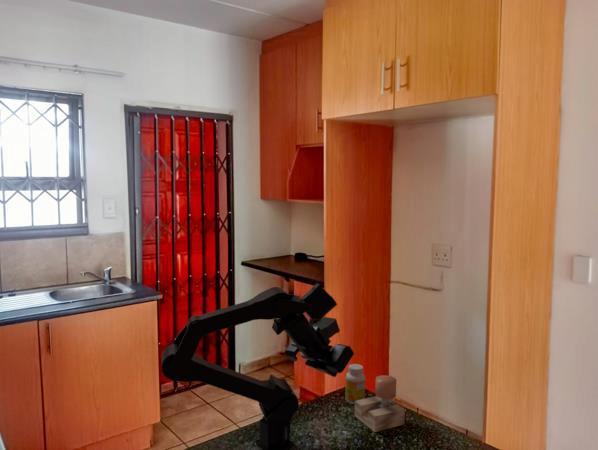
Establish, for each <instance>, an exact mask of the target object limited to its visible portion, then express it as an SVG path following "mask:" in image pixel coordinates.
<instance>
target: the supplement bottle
mask: <svg viewBox="0 0 598 450" xmlns="http://www.w3.org/2000/svg"><path fill="white" fill-rule="evenodd" d="M365 375H366V374H364V366H363V365H361V364H358V363H352V364H348V371H347V373H346V375H345V393H344V394H345V395H344V396H345V397H344V398H345V401H346V402H347V403H348V404H351V405H355V401H357V400H361V399H366V395H365V394H366V376H365Z"/></svg>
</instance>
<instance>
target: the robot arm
mask: <svg viewBox="0 0 598 450" xmlns="http://www.w3.org/2000/svg"><path fill="white" fill-rule="evenodd" d="M337 305H338V303H337V301H336V300H335V299H334V297H333V296H332V294H331V295H330V294H329V292H327V290H325V288H324V287H323V286H322V285H321V284H320V283H315V284H314V285H313V286H312V287H311V289H309V290H308V291H307V292H306V293H305V294H304V295H302V296H301V297H300V296H298V295H296V294H291V293H287V292H286V291H285V290H284V289H283V288H282V287H279V286H273V287H270V288H268V289H266V290H264V291H261V292H259V293H257V295H255V296H254V297H252V298H250V299H249V300H247V301H243V302H240V303H239V302H238V303H236V304H233V305H229V306H226V307H224V308H223V307H222V308H220V309H216V310H212V311H210V312H206V313H203V314H198V315H193V316H190V317H189V318H188V320H187V322H186V323H185V324H184V327H183V328H182V329H181V330H180V332H179V333H178V334H177V335H176V337H175V338H174V341H173V343H171V344H170V345H168V346H166V347H165V348H164V350H163V351H162V353H161V372H162V373H163V377H164V378H166V379H167V380H169V381H172V382H173V381H174V382H179V383H181V382H182V383H194V382H195V383H196V382H197V383H198V382H200V383H203V384H206V385H209V386H212V387H215V388H217V389H221V390H224V391H227V392H230V393H232V394H235V395H238V396H241V397H244V398H247V399H250V400H253V401H256V402H258V406H259V409H260V411H261V412H262V418H260V419H259V438H257V439H256V440H255V444H256V445H258V446H259V447H261V448H262V449H263V450H285V449H287V448H289V447H291V446H293V445H294V441H292V440H291V421H292V419H293V416H294V414H295V413H296V412H297V410H298V409H299V405H300V403H299V402H300V401H299V398H298V396H297V394H296V393H295V392H294V390H293V388H292V387H291V385H290V384H289V383H288V381H287V379H285V378H280V377H277V376H275V375H273V374H270V375H269V379H266V380H265V379H264V380H262V379H258V378H256V377H252V376H249V375H247V374H245V373H241V372H238V371H236V370H233V369H230V368H227V367H224V366H221V365H219V364H216V363H213V362H211V361H208V360H205V359H204V358H202V357H201V356H200V355H199V354H197V353H196V351H197V349H198V347H199V344H200V342H201V341H202V339H203V337H204V336H207V335H210V334H213V333H216V332H219V331H222V330H227V329H229V328H232V327H236V326H238V325H242V324H245V323H249V322H252V321H256V320H257V321H258V320H266V321H267V320H268V321H270V320H273V323H272V326H271V329H272V331H274V333H275V334H276V335H277V336H279V335H280V334H281V333H282V332H285V333H286V335H287V336H288V337H289V339H290V340H291V342H290V343H289V345H288V346H287V348H286V349H285V356H286V358H288V360H289V361H291V362H292V361H293V362H297V361H298V359H299V358H298V357H297V355H298V353H299V352H300V354H299V356H300V357H301V358H302V359H303V360H305V362H304V366H306V367H309V368H312V369H315V370H316V371H320V372H322V373H324V374H326V375H328V376H331V377H332V378H336V377H337V375H338V374H341V373H343V372H344V370H345V369H346V368H347V366H348V365H349V363H350V361H351V359H353V356H354V355H355V352H354V350H353V349H352V347H351V346H350V345H346V344H341V343H335V344H334V346H333V345H330V343H331V342H332V341H331V339H330V338H332V337H334V336H335V335H336V334H339V333H340V331H341V330H340V327H339V324H338V321H337V319H336V318H334V317H326V315H327V314H329V313H330V312H331V311H332V310H333V309H334V308H336V307H337ZM305 314H306V316H305ZM307 317H308V318H309V319H308V318H307Z"/></svg>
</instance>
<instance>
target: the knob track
mask: <svg viewBox="0 0 598 450" xmlns="http://www.w3.org/2000/svg"><path fill="white" fill-rule="evenodd" d="M379 404H381V398H379V397H377V396H376V395H375V396H371V397H370V396H369V397H365V399H361V400H357V401H355V404H354V417H355V418H356V419H357V420H359V421H360V422H362V423H363V424H364V425H365V426H366V427H367V428H369V429H370V430H371V431H373V433H377V432H382V431H385V430H389V429H392V428H395V427H400V426H403V425H405V420H406V419H405V415H406V412H405V411H406V409H405V408H404V407H403V406H402V405H399V404H398V403H397V402H395V401H394V400H392V399H389V404H390V405H391V406H388V407H384V408H380V409H378V405H379Z"/></svg>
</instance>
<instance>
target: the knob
mask: <svg viewBox="0 0 598 450" xmlns="http://www.w3.org/2000/svg"><path fill="white" fill-rule="evenodd" d="M374 388H375V390H374V391H375V392H374V393H375V396H377V397H379V398H381V404H379V405H378V409H380V408H384V407H388V406H391V405H390V404H389V399H391V400H392V399H395V398H396V397H397V378H395V377H394V376H392V375H391V376H390V375H387V374H385V375H383V374H382V375H378V376H376V378H375V387H374Z"/></svg>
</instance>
